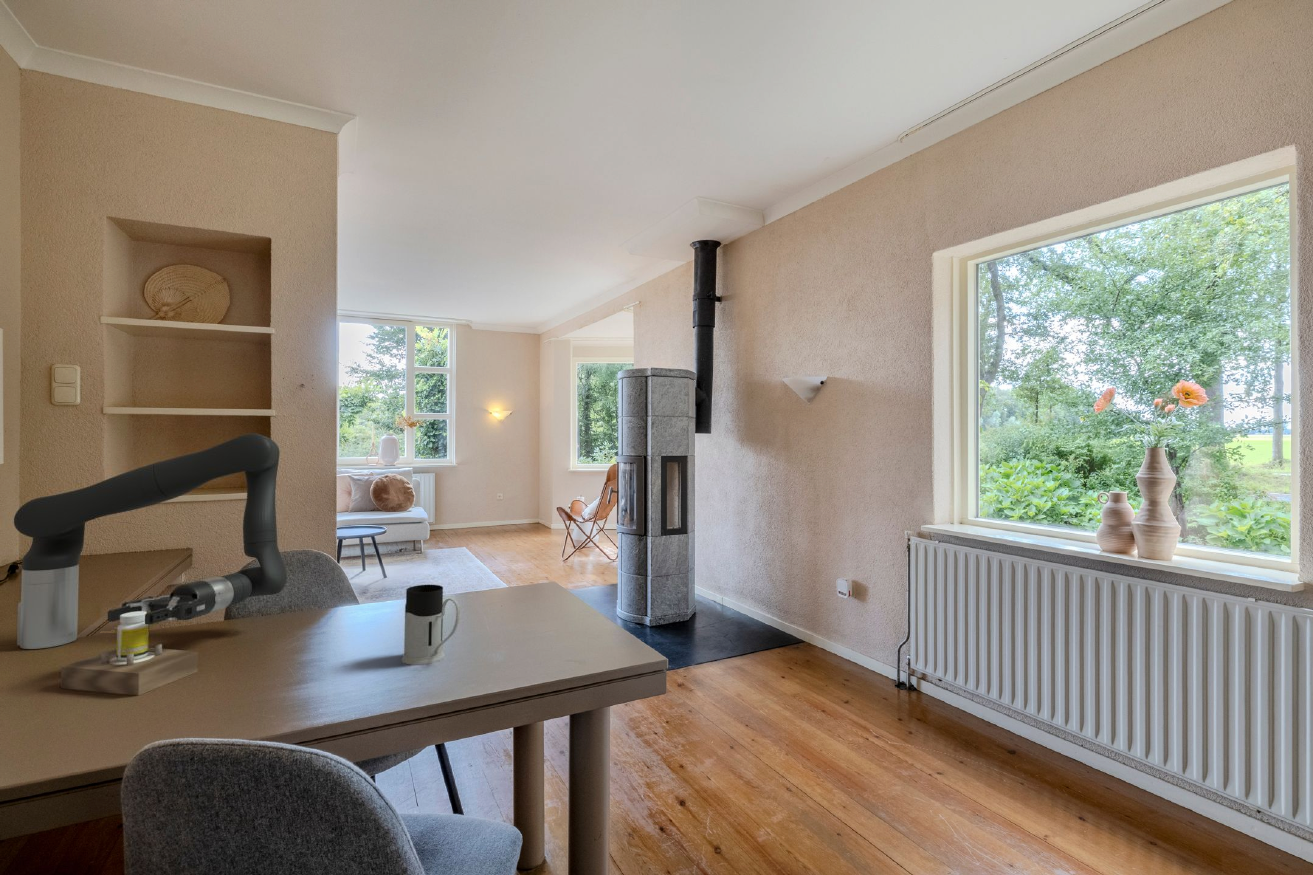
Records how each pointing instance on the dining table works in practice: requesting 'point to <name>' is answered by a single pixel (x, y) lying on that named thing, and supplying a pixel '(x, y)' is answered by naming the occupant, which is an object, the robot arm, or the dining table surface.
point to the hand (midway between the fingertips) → (127, 617)
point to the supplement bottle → (132, 636)
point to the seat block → (129, 671)
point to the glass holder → (425, 624)
